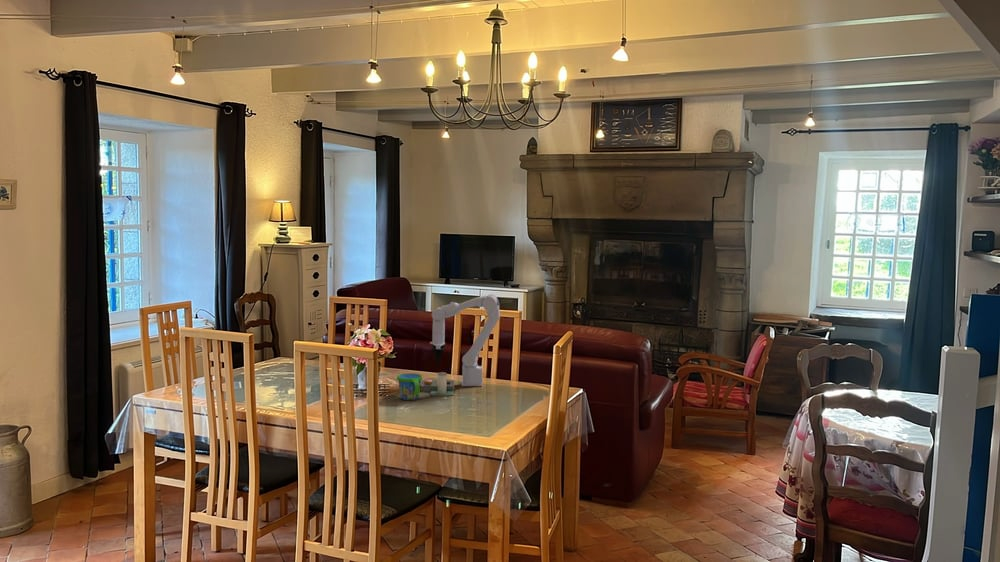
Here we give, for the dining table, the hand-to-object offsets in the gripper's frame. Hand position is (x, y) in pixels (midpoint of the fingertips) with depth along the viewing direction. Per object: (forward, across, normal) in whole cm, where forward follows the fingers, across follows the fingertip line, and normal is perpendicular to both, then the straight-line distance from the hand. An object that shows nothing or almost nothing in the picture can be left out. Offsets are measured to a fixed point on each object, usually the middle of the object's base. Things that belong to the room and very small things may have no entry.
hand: (438, 361), depth 349 cm
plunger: (+10, +11, -4) cm, 15 cm away
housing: (+10, +11, 0) cm, 15 cm away
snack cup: (+11, +30, -12) cm, 34 cm away
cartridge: (+10, +22, +2) cm, 24 cm away
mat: (+10, +22, +2) cm, 24 cm away
